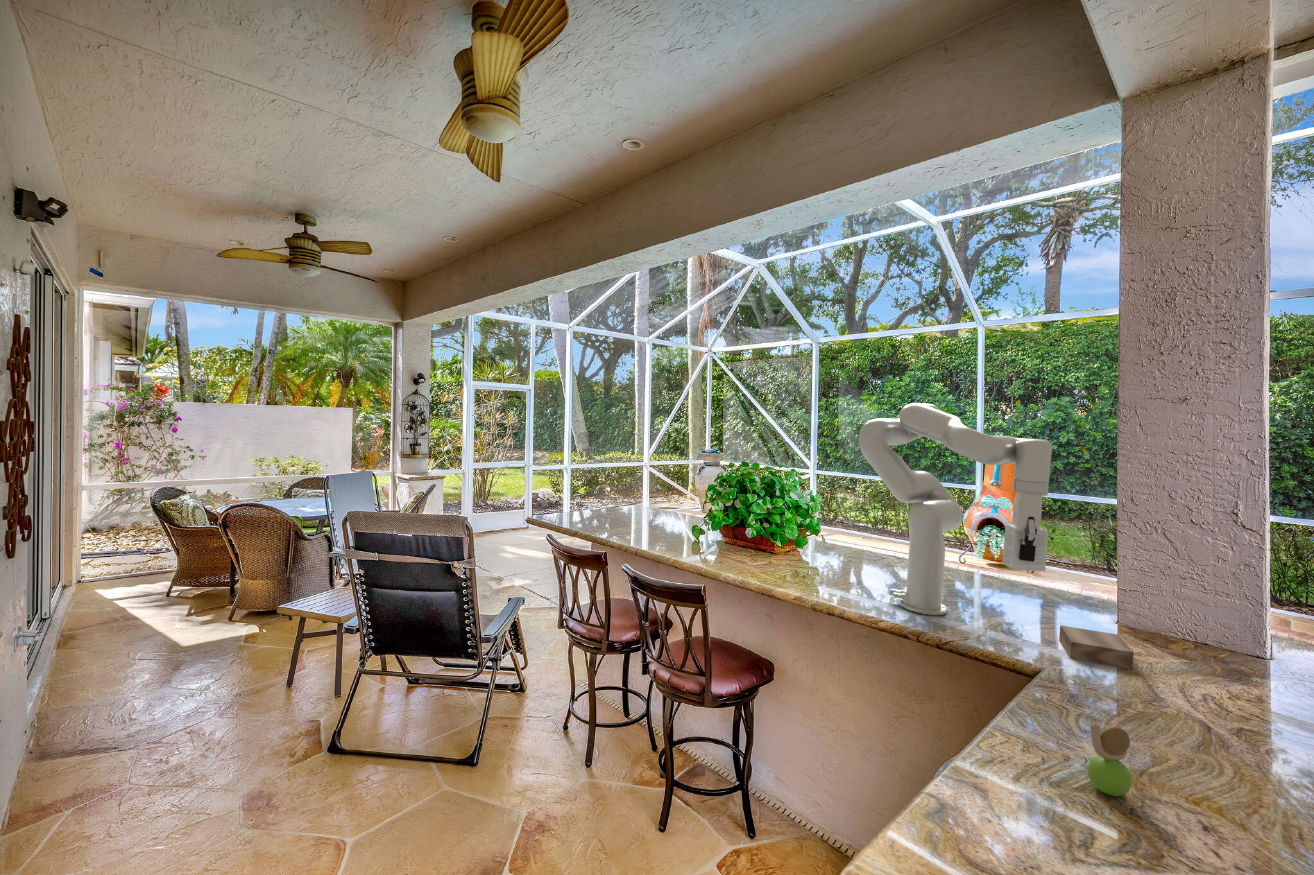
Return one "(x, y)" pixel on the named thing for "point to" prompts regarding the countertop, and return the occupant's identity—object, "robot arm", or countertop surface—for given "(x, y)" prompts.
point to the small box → (1013, 550)
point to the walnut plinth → (1096, 647)
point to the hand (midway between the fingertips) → (1024, 556)
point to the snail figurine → (1109, 760)
